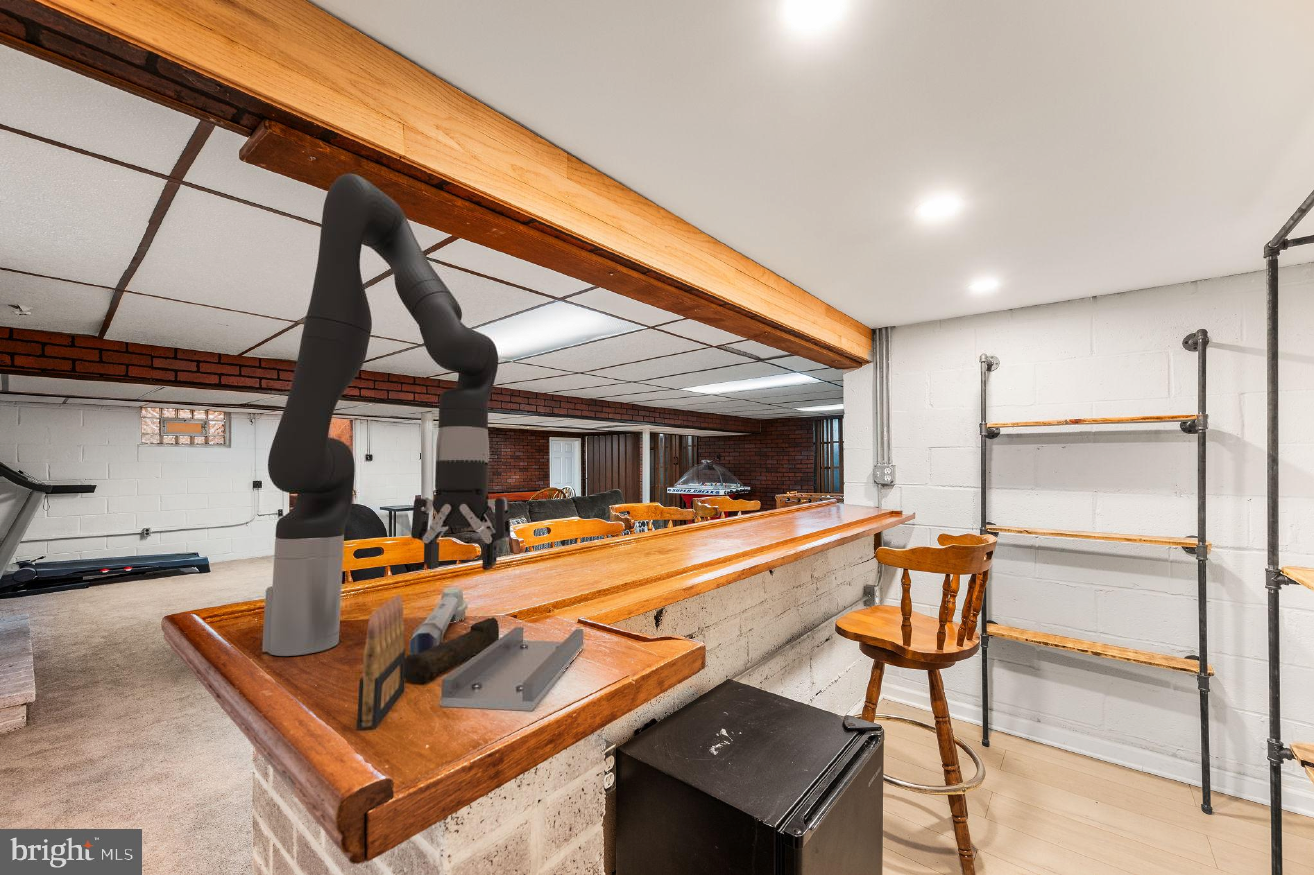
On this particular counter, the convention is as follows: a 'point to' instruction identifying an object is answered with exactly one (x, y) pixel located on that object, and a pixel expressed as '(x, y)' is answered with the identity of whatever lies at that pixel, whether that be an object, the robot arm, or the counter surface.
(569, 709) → the counter surface
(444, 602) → the grey plastic handle
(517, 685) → the grey channel tray
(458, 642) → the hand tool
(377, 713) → the ammunition clip
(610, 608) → the counter surface
